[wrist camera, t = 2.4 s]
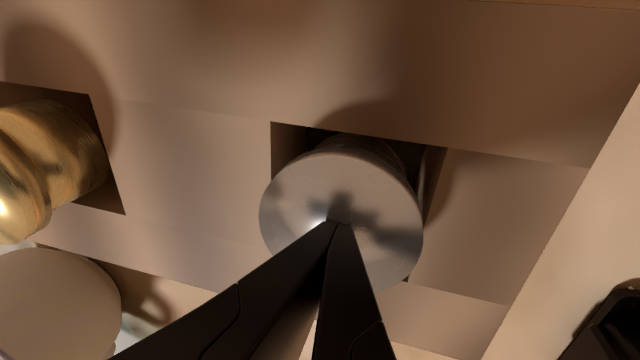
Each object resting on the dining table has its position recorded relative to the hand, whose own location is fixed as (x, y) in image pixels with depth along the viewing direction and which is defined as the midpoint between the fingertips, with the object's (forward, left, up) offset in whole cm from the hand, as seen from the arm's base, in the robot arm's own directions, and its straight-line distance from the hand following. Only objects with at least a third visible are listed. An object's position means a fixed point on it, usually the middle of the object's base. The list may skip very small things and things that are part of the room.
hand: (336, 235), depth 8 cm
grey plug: (0, 0, -3) cm, 3 cm away
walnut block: (+6, 0, -6) cm, 8 cm away
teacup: (+20, +16, -6) cm, 26 cm away
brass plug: (+12, 0, -2) cm, 12 cm away
